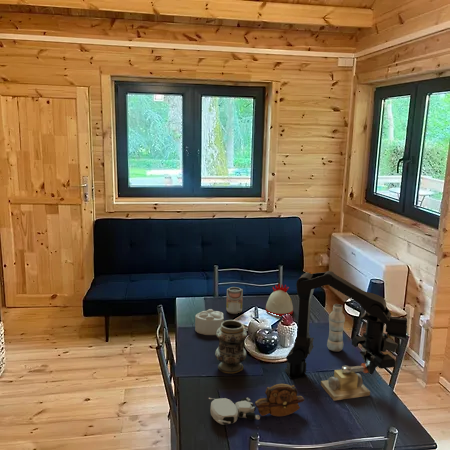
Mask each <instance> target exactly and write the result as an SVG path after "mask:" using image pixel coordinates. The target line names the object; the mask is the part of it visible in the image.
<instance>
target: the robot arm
mask: <svg viewBox="0 0 450 450" xmlns="http://www.w3.org/2000/svg"><path fill="white" fill-rule="evenodd" d="M295 284H296V285H295V286H296V293H297V296H298V300H299V301H298V315H297V316H298V317H297V334H296V338H295V341H294V343H293V346H292V347H291V349H290V350H289V352H288V354H287V355H286V357H285V359H286V368H285V369H284V371H285V373H286V374H287V376H288V377H289V379H291V380H293V379H298V378H299V379H300V378H306V377H307V374H306V372H307V362H306V360H307V358H308V357H309V355H310V354H311V352H312V350H313V349H314V340H315V338H314V337H311V335H310V320H311V306H312V298H313V294H314V290H315V289H318V288H321V287H324V286H329V287H331V288H333V289H334V290H336V291H338V292H339V293H341V294H343V295H345V296H346V297H348V298H349V299H351V300H353V301H354V302H356V303H357V304H358V305H359V306H360V307H361V308H362V309H363V310H364V311H365V313H362V315H361V316H360V317H361V320H363V321H366V325H365V326H366V327H365V332H363V333H362V335H361V336H354V337H353V338H351V345H352V346H353V347H355V348H358V347H359V345H361V351H359V354H360V355H361V358H362V360H363V362H364V363H365V365H366V367H367V370H368V372H369V373H368V374H369V375H374V373H375V370H377V368H378V369H380V370H381V369H390V368H396V366H397V360H396V359H395V358H394V357H393V356H391V355H390V354H389V353H386V352H387V351H389V352H392V353H395V352H396V350H397V349H398V348H397V347H398V345H399V344H398V343H397V342H395V341H394V340H393V339H392V338H390V337H395V338H399V339H404V340H406V339H407V335H408V334H407V331H408V318H407V317H398V316H397V317H396V316H392V313H391V311H390V309H389V307H387V301H386V299H385V298H384V297H383V296H380V295H379V294H376V293H373V292H369V291H365V290H363V289H361V288H359V287H358V286H356V285H354V284H352V282H349V281H347V280H345V279H344V278H342V277H341V276H339V275H337V274H336V273H334V271H331V270H328V271H323V272H314V273H310V272H304V273H303V274H301V276H300V277H299V278H298V279H297V280H296V283H295ZM384 330H385V331H384ZM384 332H385V333H384Z"/></svg>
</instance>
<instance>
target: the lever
mask: <svg viewBox="0 0 450 450" xmlns="http://www.w3.org/2000/svg"><path fill="white" fill-rule="evenodd" d="M341 369H342V373H344V374H351V372H355V373H356V372H358V373H359V372H362V373H364V374H369V372H368V370H367V367H366V365H365V362H364V363H363V362H362V363H361V364H360V365H356V366H349V365H342V366H341Z"/></svg>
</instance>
